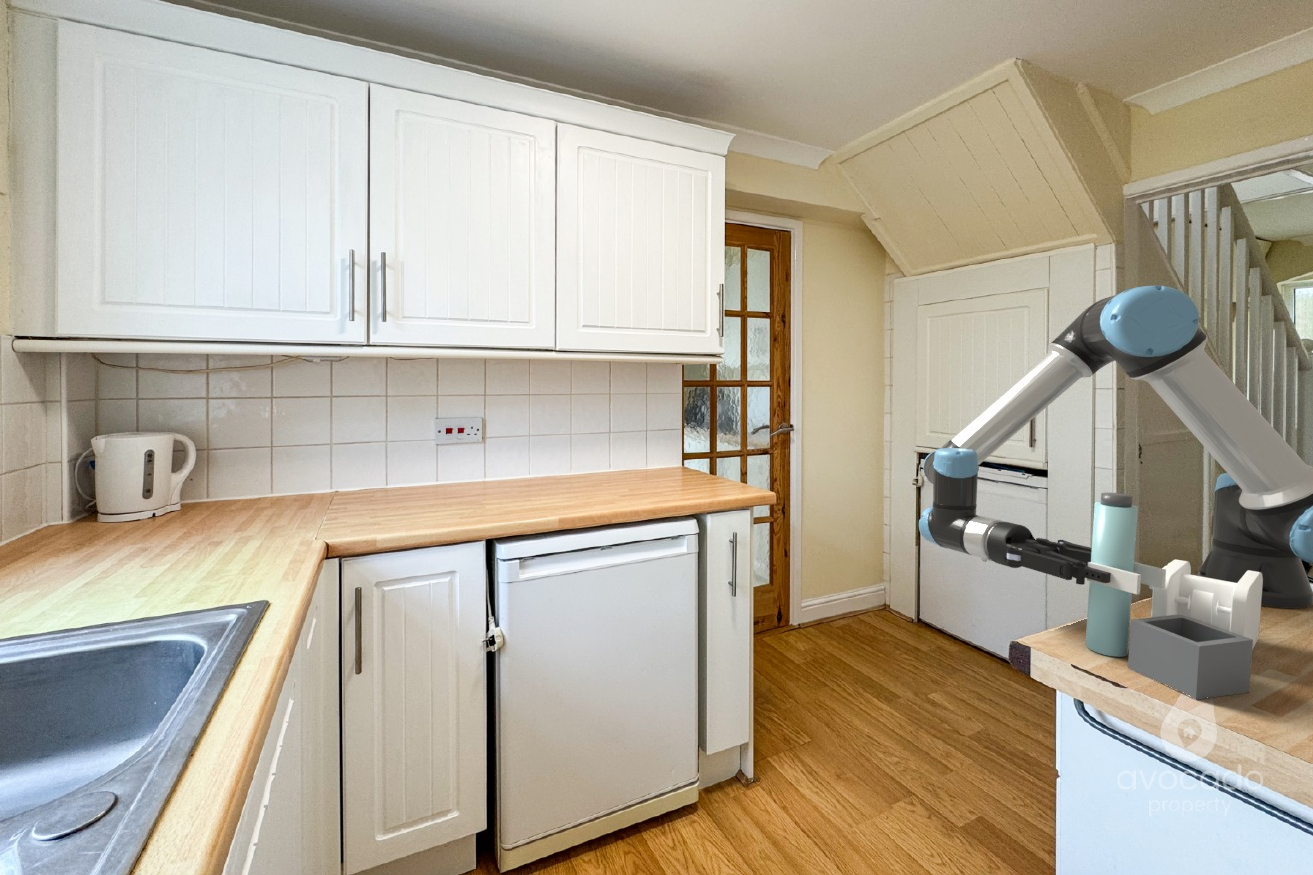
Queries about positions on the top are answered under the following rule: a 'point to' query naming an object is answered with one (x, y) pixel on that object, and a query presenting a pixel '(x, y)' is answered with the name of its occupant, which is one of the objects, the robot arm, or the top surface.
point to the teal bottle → (1117, 551)
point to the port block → (1190, 656)
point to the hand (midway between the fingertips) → (1151, 581)
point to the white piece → (1211, 599)
